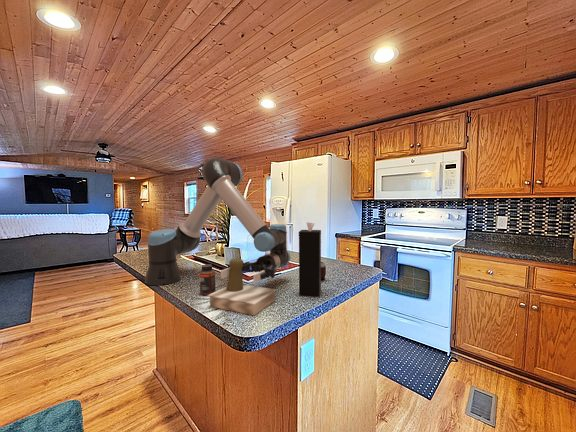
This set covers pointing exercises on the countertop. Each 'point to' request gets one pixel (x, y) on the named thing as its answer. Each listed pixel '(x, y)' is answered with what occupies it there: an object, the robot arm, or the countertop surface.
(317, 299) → the countertop surface
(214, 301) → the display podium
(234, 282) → the cork
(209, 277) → the supplement bottle
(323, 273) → the mate gourd
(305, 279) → the tissue box
